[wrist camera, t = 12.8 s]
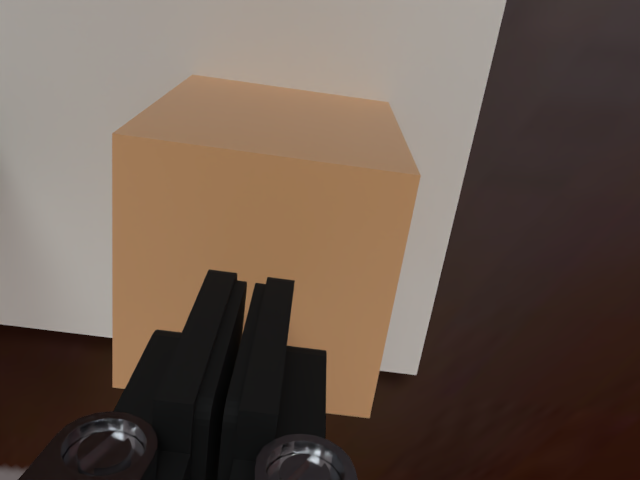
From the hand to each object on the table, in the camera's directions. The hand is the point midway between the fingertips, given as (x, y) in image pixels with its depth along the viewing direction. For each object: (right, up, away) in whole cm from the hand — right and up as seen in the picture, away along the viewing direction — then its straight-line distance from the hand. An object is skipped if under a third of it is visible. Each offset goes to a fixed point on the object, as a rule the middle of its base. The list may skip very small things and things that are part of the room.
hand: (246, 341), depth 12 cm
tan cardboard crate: (0, +4, +9) cm, 9 cm away
